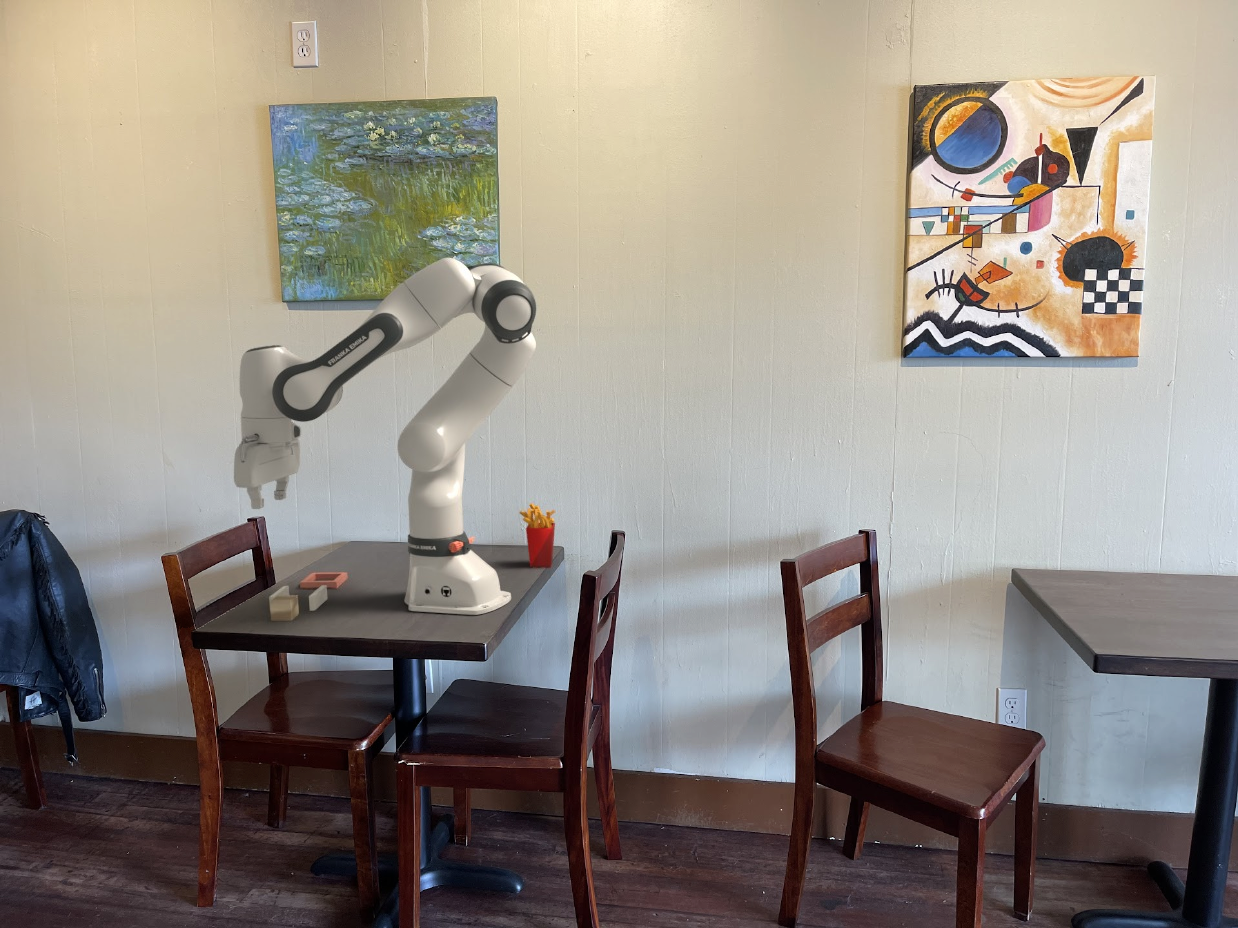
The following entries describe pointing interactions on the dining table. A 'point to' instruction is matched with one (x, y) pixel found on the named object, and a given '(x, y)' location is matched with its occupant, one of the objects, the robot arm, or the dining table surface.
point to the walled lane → (314, 598)
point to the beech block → (284, 607)
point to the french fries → (539, 536)
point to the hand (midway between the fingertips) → (269, 503)
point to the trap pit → (323, 580)
